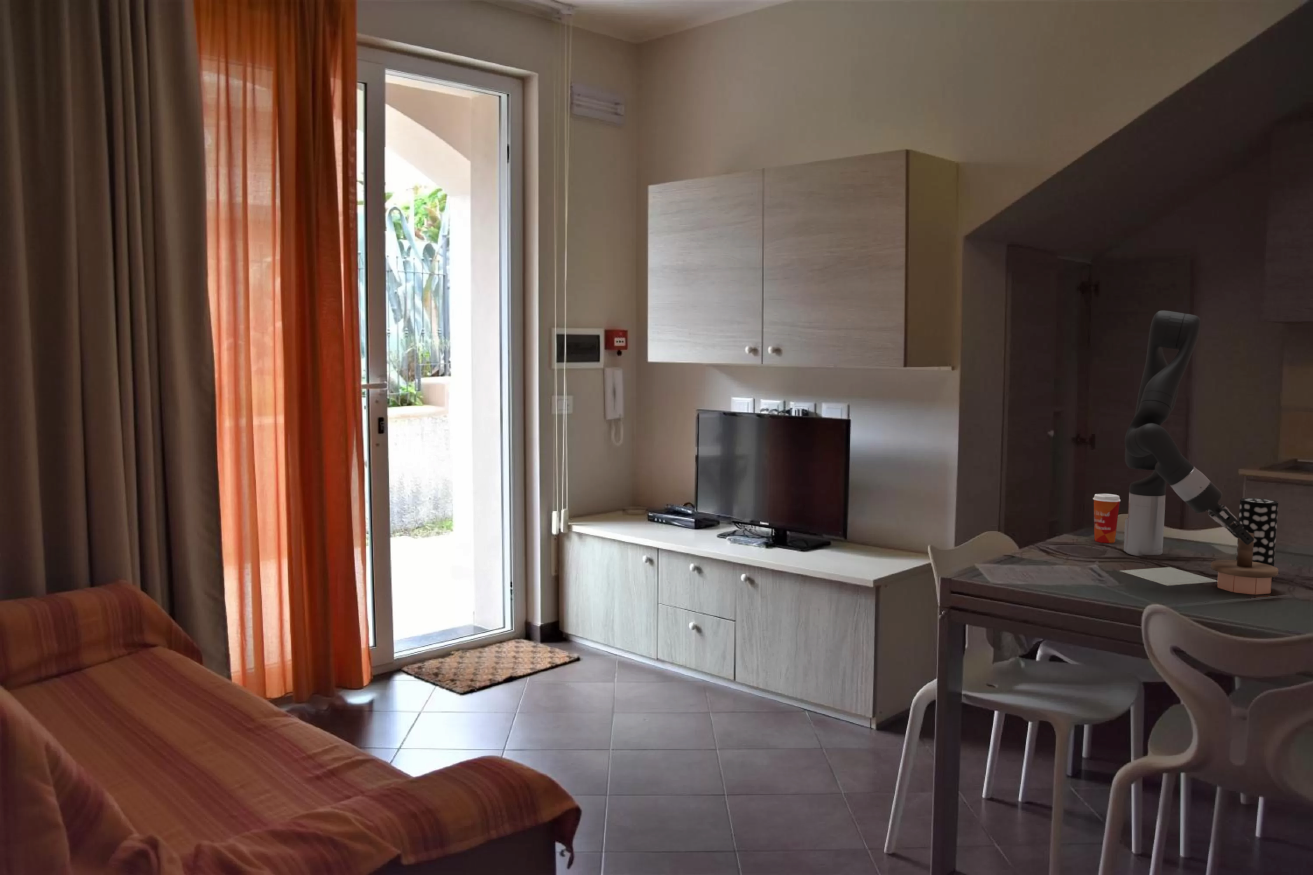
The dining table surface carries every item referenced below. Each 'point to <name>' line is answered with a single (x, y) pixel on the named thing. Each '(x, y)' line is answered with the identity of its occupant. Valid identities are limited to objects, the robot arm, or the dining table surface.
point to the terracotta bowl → (1244, 584)
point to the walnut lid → (1244, 564)
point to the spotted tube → (1260, 527)
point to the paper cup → (1105, 517)
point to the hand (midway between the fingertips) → (1245, 538)
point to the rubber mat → (1169, 576)
